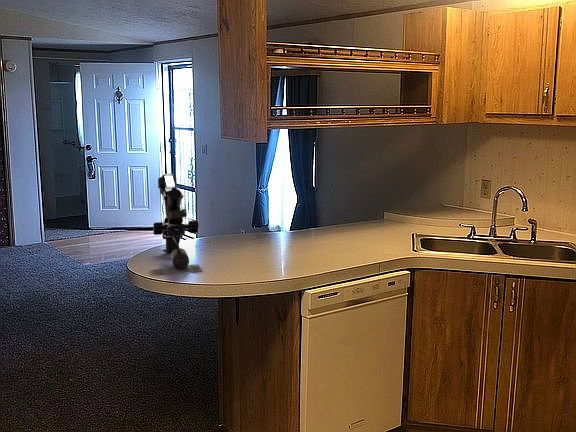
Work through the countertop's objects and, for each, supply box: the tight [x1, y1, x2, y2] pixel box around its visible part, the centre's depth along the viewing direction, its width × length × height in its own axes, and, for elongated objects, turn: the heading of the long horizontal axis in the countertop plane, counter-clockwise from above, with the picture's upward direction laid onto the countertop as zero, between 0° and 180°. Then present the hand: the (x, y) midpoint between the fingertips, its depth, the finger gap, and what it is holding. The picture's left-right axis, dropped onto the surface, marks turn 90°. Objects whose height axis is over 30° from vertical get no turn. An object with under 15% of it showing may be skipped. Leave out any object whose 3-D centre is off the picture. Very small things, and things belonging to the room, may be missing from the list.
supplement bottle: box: [170, 247, 190, 269], centre depth 256 cm, size 7×7×12 cm
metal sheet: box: [159, 263, 203, 275], centre depth 255 cm, size 11×16×1 cm
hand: (177, 244), depth 261 cm, fingers closed
